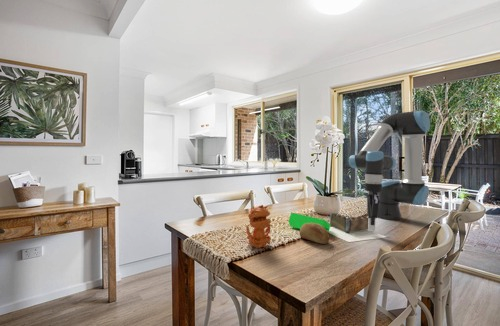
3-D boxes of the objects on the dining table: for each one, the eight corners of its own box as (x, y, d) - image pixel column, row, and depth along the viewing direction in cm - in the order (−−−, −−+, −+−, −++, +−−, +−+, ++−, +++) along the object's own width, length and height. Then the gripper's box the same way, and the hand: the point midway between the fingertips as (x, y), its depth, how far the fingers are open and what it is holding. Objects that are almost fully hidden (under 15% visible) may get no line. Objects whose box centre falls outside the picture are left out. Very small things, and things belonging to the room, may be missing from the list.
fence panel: (350, 231, 128) (351, 218, 128) (348, 231, 129) (349, 217, 129) (368, 229, 133) (368, 216, 133) (366, 228, 134) (366, 215, 134)
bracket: (329, 240, 128) (333, 226, 130) (320, 234, 122) (324, 219, 124) (296, 230, 142) (300, 218, 144) (286, 224, 136) (291, 212, 138)
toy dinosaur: (253, 252, 101) (254, 207, 100) (241, 243, 111) (242, 202, 110) (277, 248, 106) (278, 205, 105) (263, 240, 116) (264, 200, 115)
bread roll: (320, 248, 108) (321, 229, 107) (293, 238, 119) (294, 221, 119) (333, 243, 114) (334, 225, 113) (306, 234, 125) (307, 218, 125)
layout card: (352, 224, 144) (352, 223, 144) (387, 237, 123) (387, 236, 122) (317, 227, 136) (317, 227, 136) (348, 242, 115) (348, 241, 115)
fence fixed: (332, 225, 141) (332, 211, 140) (346, 232, 130) (347, 217, 129) (329, 225, 140) (329, 212, 140) (343, 232, 129) (344, 217, 129)
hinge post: (347, 232, 129) (348, 216, 129) (350, 233, 127) (351, 217, 127) (344, 232, 129) (344, 216, 128) (347, 233, 127) (347, 217, 126)
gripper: (386, 184, 117) (384, 235, 118) (377, 181, 130) (375, 227, 130) (368, 184, 118) (366, 234, 119) (361, 181, 131) (360, 226, 132)
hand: (371, 231), depth 125 cm, fingers closed
